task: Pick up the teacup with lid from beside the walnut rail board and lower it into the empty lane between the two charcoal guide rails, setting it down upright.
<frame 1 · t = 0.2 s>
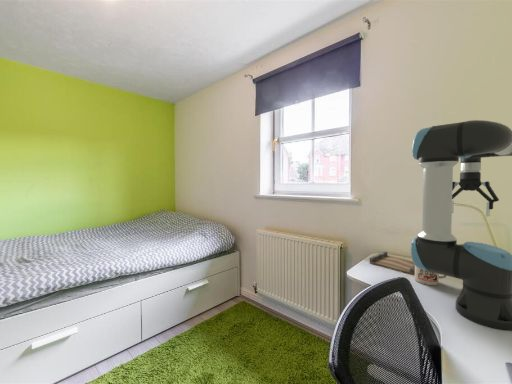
hand: (468, 214, 116), 28 cm above the table, fingers open, 13 cm apart
rail board: (397, 264, 125), on the table
teacup with lid: (430, 282, 103), on the table
webcam: (465, 276, 110), on the table
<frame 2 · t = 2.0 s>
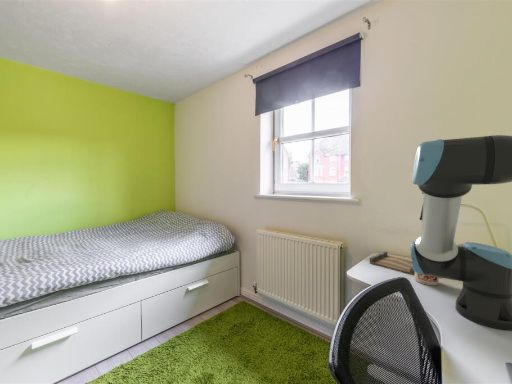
hand: (431, 233, 103), 22 cm above the table, fingers open, 13 cm apart
nothing on the table moved.
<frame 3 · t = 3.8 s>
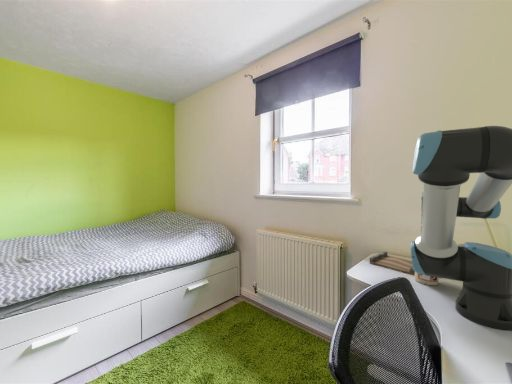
hand: (430, 276, 103), 3 cm above the table, fingers open, 10 cm apart
teacup with lid: (430, 282, 103), on the table, touching gripper
everything else where it was.
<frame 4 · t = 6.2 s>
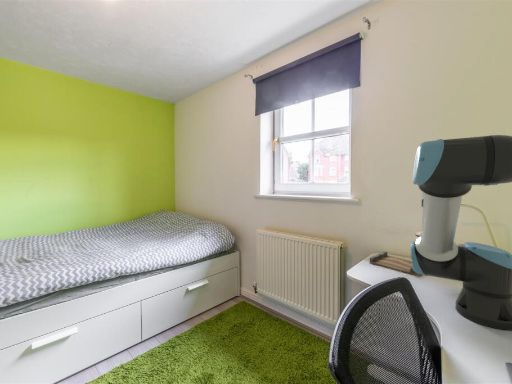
hand: (431, 249, 102), 14 cm above the table, fingers closed on teacup with lid, 9 cm apart
teacup with lid: (431, 255, 103), point 12 cm above the table, touching gripper
everything else where it was.
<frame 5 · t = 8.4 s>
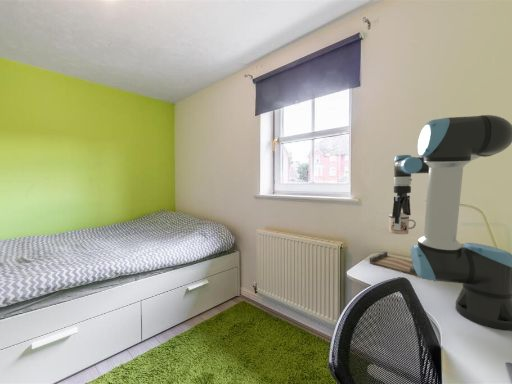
hand: (401, 228, 122), 20 cm above the table, fingers closed on teacup with lid, 9 cm apart
teacup with lid: (401, 233, 122), point 17 cm above the table, touching gripper
everything else where it was.
when the fingers open (4 cm above the table, at t = 11.9 s): teacup with lid stays where it is, resting on rail board.
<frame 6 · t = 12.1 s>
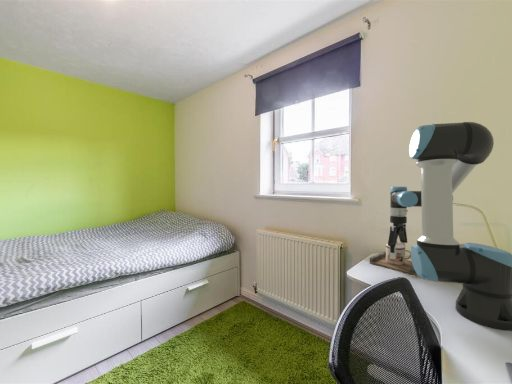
hand: (397, 256, 125), 4 cm above the table, fingers open, 11 cm apart
teacup with lid: (398, 263, 125), point 1 cm above the table, touching rail board
everything else where it was.
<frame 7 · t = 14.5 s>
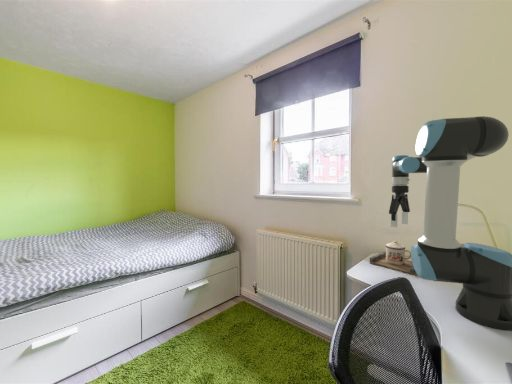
hand: (399, 225, 124), 21 cm above the table, fingers open, 13 cm apart
nothing on the table moved.
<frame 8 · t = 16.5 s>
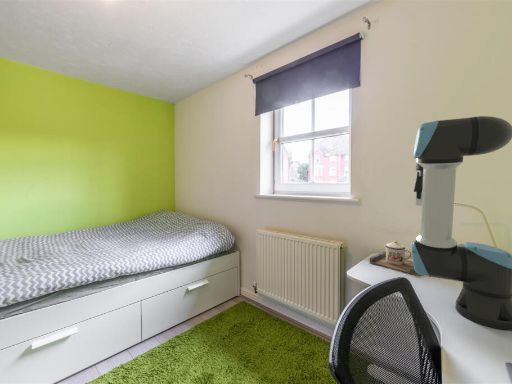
hand: (424, 204, 119), 33 cm above the table, fingers open, 13 cm apart
nothing on the table moved.
at the end: teacup with lid inside the target area on the rail board (0.5 cm from its centre), point 0.8 cm above the rail board's base; teacup with lid tilted 0°; the gripper is holding nothing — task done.
